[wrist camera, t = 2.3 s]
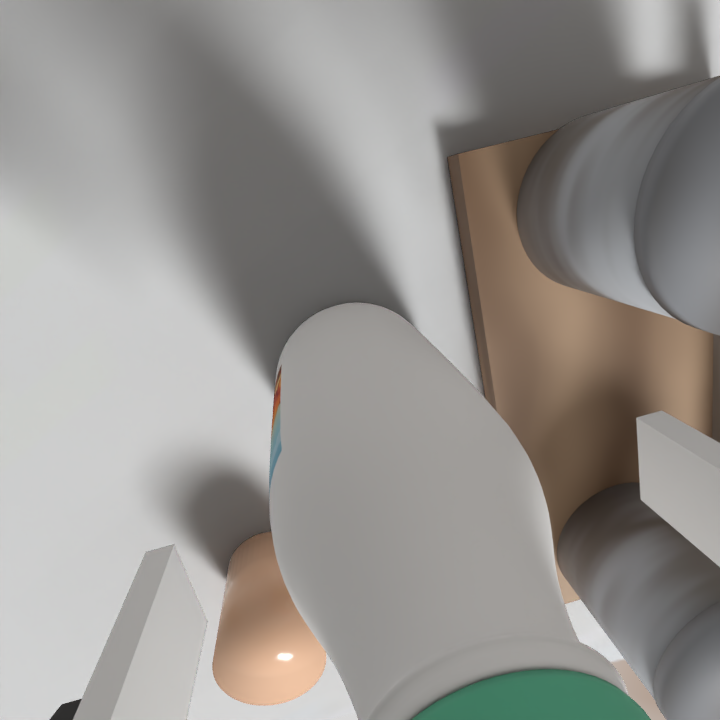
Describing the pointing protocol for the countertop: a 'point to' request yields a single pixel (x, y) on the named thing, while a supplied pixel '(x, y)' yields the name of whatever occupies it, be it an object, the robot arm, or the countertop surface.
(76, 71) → the countertop surface
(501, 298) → the rack
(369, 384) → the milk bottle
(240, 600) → the peach rounded cylinder
